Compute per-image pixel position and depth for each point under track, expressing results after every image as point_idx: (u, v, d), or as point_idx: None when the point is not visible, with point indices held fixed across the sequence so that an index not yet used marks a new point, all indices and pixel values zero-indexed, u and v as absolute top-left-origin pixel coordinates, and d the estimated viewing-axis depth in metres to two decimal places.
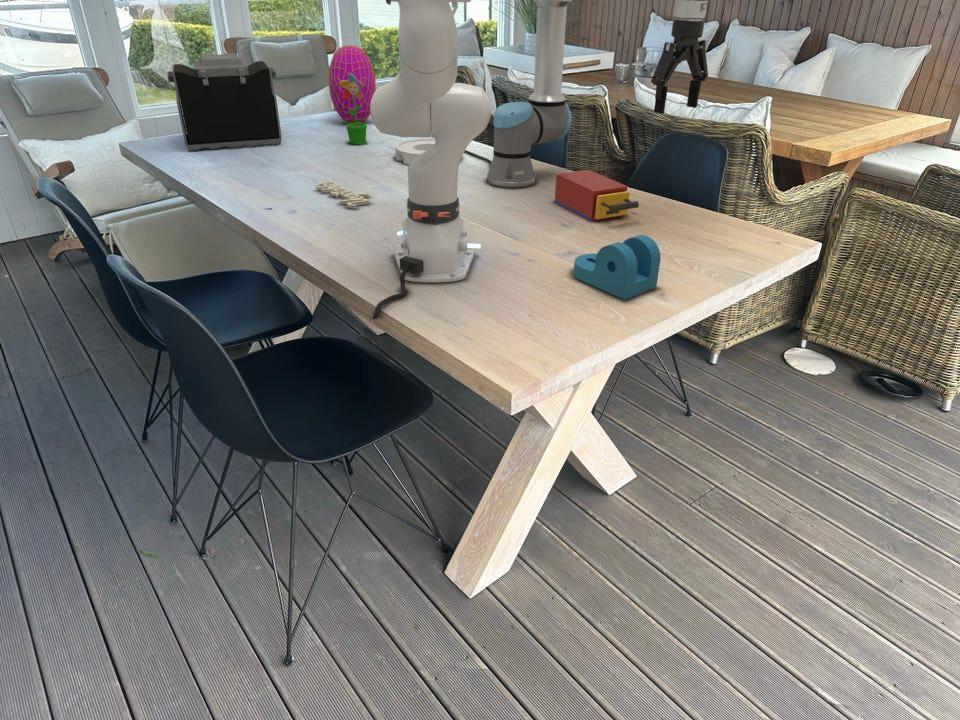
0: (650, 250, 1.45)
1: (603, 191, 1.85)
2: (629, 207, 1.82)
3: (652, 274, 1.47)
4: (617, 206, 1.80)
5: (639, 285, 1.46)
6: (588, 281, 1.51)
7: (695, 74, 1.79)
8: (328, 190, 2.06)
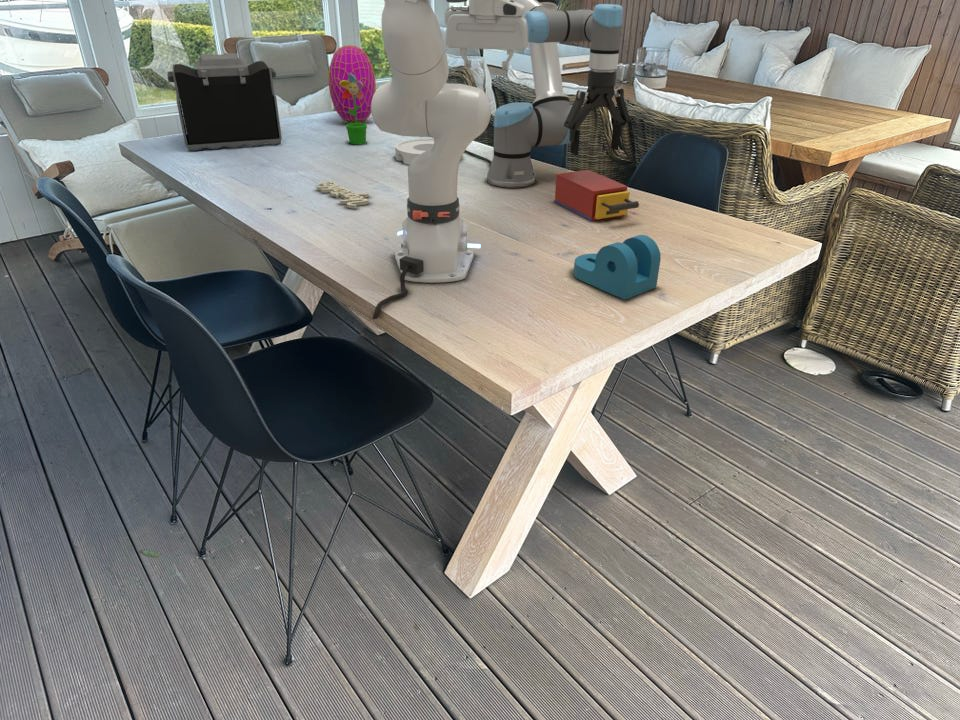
0: (650, 250, 1.45)
1: (603, 191, 1.85)
2: (629, 207, 1.82)
3: (652, 274, 1.47)
4: (617, 206, 1.80)
5: (639, 285, 1.46)
6: (588, 281, 1.51)
7: None
8: (328, 190, 2.06)
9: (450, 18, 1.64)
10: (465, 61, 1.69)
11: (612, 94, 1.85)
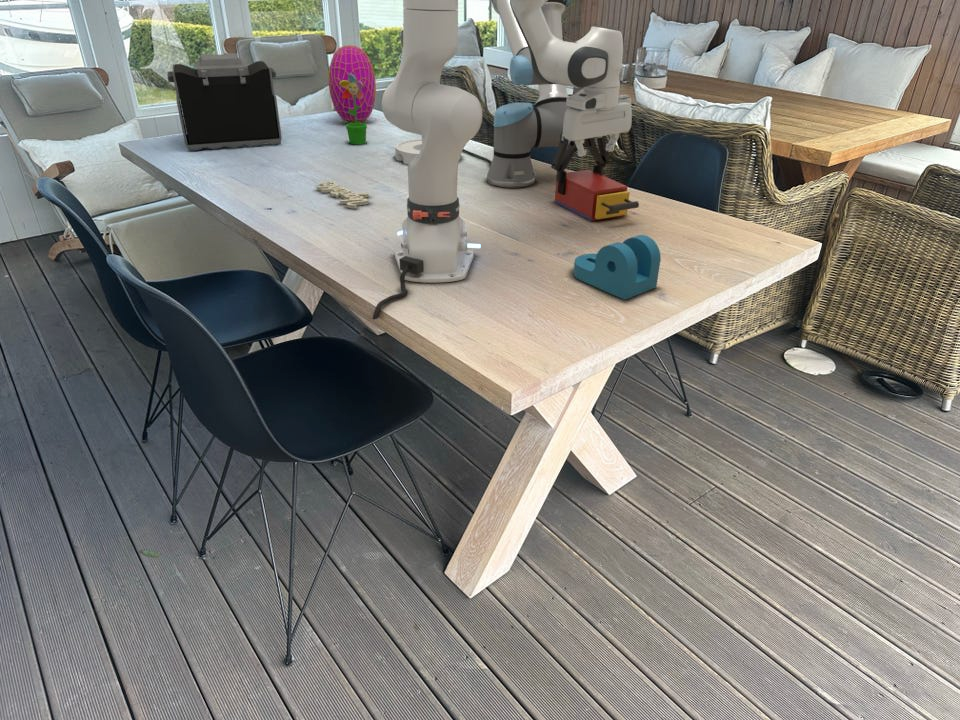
0: (650, 250, 1.45)
1: (603, 191, 1.85)
2: (629, 207, 1.82)
3: (652, 274, 1.47)
4: (617, 206, 1.80)
5: (639, 285, 1.46)
6: (588, 281, 1.51)
7: None
8: (328, 190, 2.06)
9: None
10: None
11: None
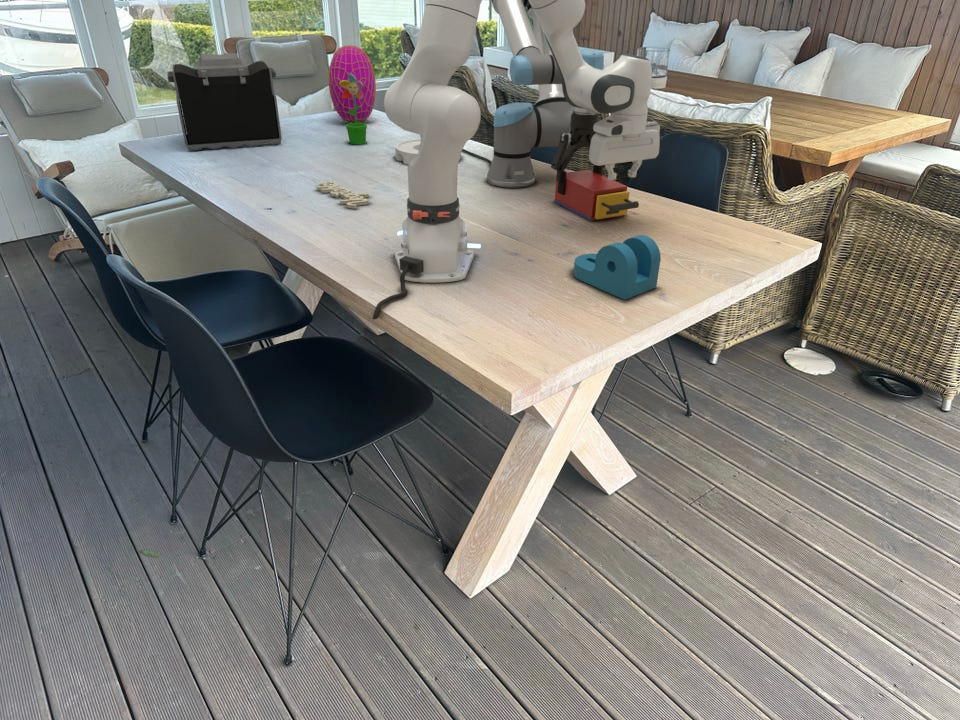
0: (650, 250, 1.45)
1: (603, 191, 1.85)
2: (629, 207, 1.82)
3: (652, 274, 1.47)
4: (617, 206, 1.80)
5: (639, 285, 1.46)
6: (588, 281, 1.51)
7: None
8: (328, 190, 2.06)
9: None
10: None
11: None
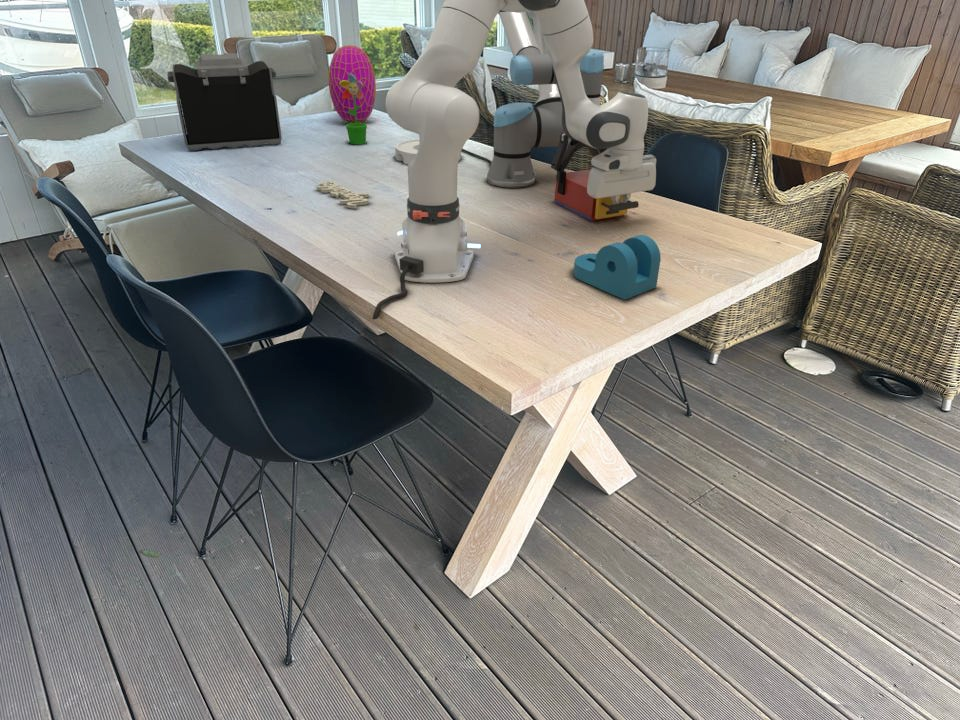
0: (650, 250, 1.45)
1: None
2: (629, 207, 1.82)
3: (652, 274, 1.47)
4: (617, 206, 1.81)
5: (639, 285, 1.46)
6: (588, 281, 1.51)
7: None
8: (328, 190, 2.06)
9: None
10: None
11: None
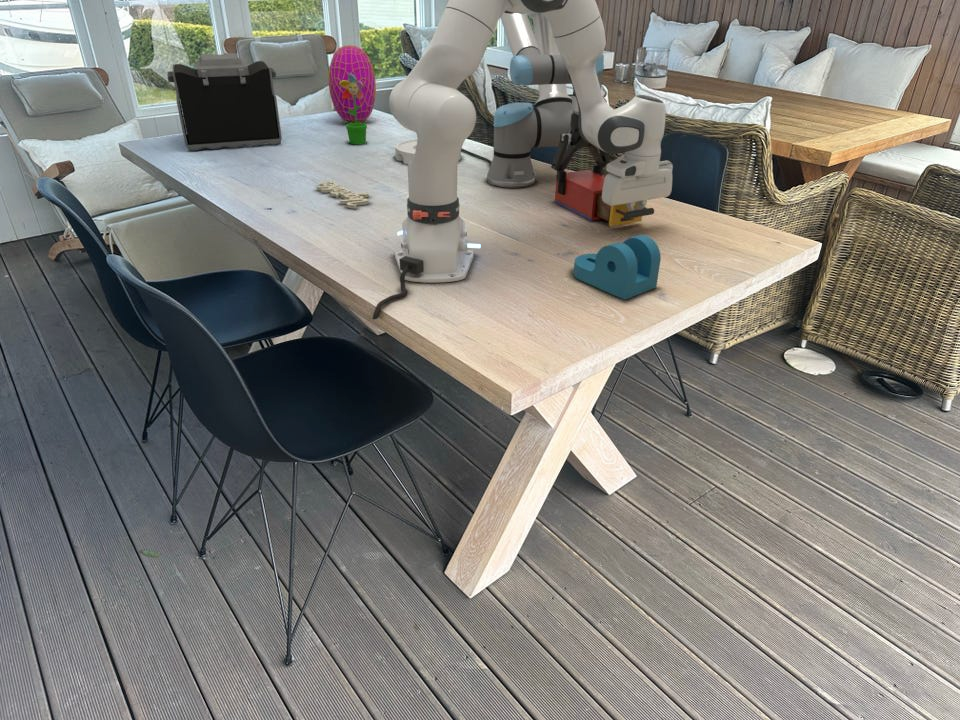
0: (650, 250, 1.45)
1: None
2: (644, 214, 1.77)
3: (652, 274, 1.47)
4: (632, 213, 1.76)
5: (639, 285, 1.46)
6: (588, 281, 1.51)
7: None
8: (328, 190, 2.06)
9: None
10: None
11: None
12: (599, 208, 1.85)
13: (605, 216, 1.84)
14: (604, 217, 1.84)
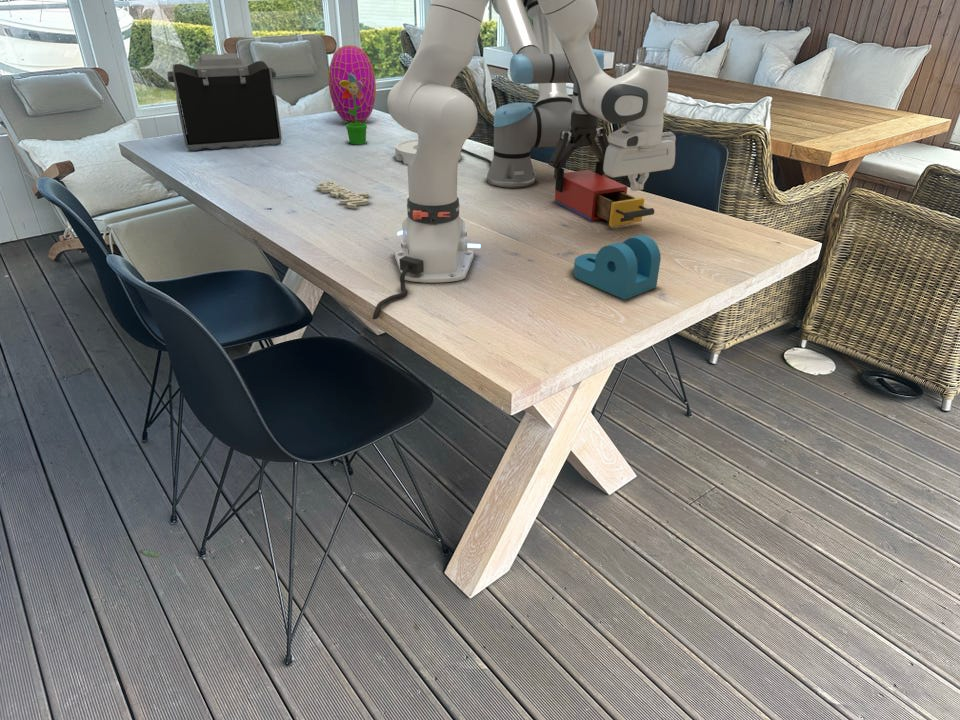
0: (650, 250, 1.45)
1: (603, 191, 1.85)
2: (644, 214, 1.77)
3: (652, 274, 1.47)
4: (632, 213, 1.76)
5: (639, 285, 1.46)
6: (588, 281, 1.51)
7: None
8: (328, 190, 2.06)
9: None
10: None
11: (595, 134, 1.92)
12: (599, 208, 1.85)
13: (605, 216, 1.84)
14: (604, 217, 1.84)
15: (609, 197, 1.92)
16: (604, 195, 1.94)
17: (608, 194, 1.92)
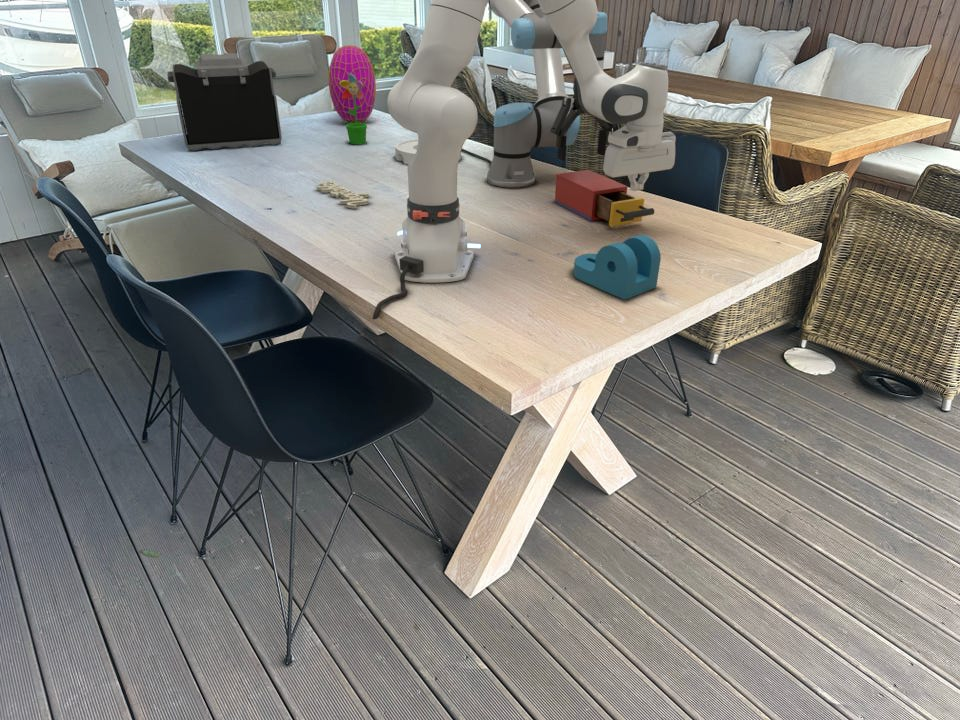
0: (650, 250, 1.45)
1: (603, 191, 1.85)
2: (644, 214, 1.77)
3: (652, 274, 1.47)
4: (632, 213, 1.76)
5: (639, 285, 1.46)
6: (588, 281, 1.51)
7: None
8: (328, 190, 2.06)
9: None
10: None
11: None
12: (599, 208, 1.85)
13: (605, 216, 1.84)
14: (604, 217, 1.84)
15: (609, 197, 1.92)
16: (604, 195, 1.94)
17: (608, 194, 1.92)
